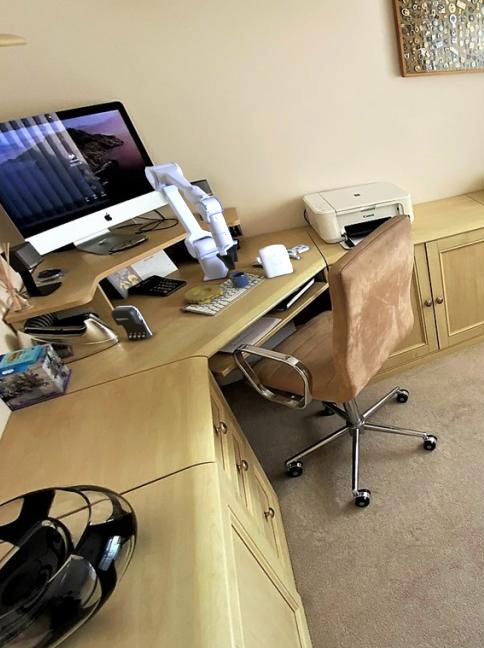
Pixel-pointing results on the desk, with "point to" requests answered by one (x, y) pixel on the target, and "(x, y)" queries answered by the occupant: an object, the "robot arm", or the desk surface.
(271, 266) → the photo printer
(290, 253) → the robot figure
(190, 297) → the gold flat disc
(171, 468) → the desk surface
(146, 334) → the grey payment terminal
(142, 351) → the desk surface
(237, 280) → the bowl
